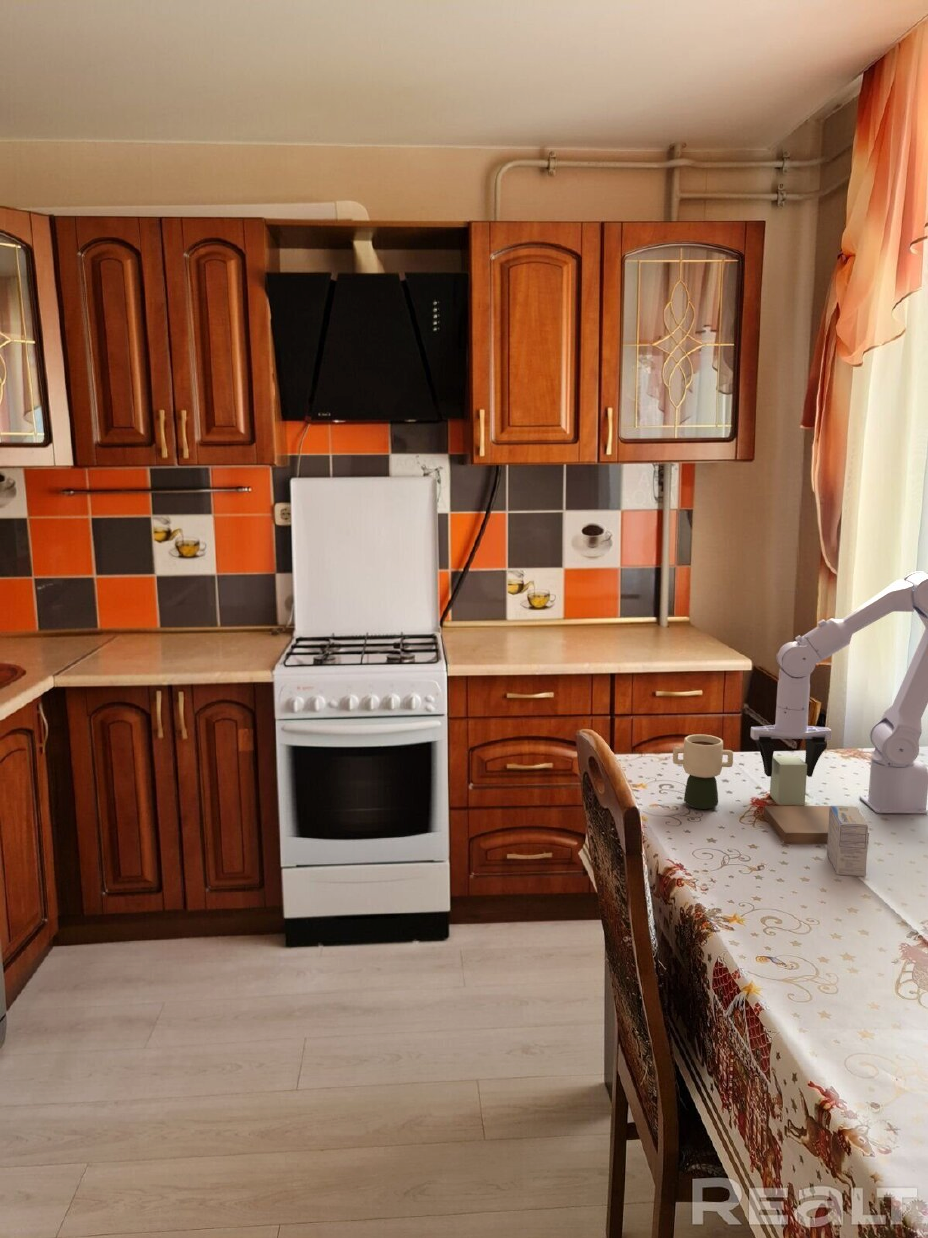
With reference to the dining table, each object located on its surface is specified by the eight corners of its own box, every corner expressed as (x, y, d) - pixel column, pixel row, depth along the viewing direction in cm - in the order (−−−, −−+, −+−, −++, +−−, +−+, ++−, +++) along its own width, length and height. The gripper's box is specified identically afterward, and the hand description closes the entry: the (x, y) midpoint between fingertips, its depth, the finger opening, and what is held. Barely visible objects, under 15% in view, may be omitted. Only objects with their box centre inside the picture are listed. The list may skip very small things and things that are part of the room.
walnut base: (840, 816, 161) (840, 806, 161) (868, 844, 150) (869, 833, 149) (763, 816, 162) (763, 805, 161) (784, 844, 150) (785, 832, 150)
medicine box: (866, 878, 138) (870, 825, 136) (835, 875, 139) (839, 823, 137) (854, 856, 145) (858, 806, 144) (825, 854, 146) (829, 804, 145)
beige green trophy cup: (729, 800, 169) (732, 735, 167) (732, 815, 162) (735, 747, 160) (670, 796, 172) (673, 732, 169) (671, 810, 165) (674, 744, 162)
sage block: (795, 795, 172) (797, 756, 171) (804, 805, 167) (807, 764, 166) (769, 795, 172) (771, 756, 171) (778, 805, 167) (780, 764, 166)
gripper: (823, 700, 170) (818, 768, 172) (747, 700, 170) (743, 767, 173) (837, 710, 163) (832, 780, 165) (758, 710, 163) (754, 780, 166)
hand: (788, 775), depth 169 cm, fingers open, 7 cm apart
